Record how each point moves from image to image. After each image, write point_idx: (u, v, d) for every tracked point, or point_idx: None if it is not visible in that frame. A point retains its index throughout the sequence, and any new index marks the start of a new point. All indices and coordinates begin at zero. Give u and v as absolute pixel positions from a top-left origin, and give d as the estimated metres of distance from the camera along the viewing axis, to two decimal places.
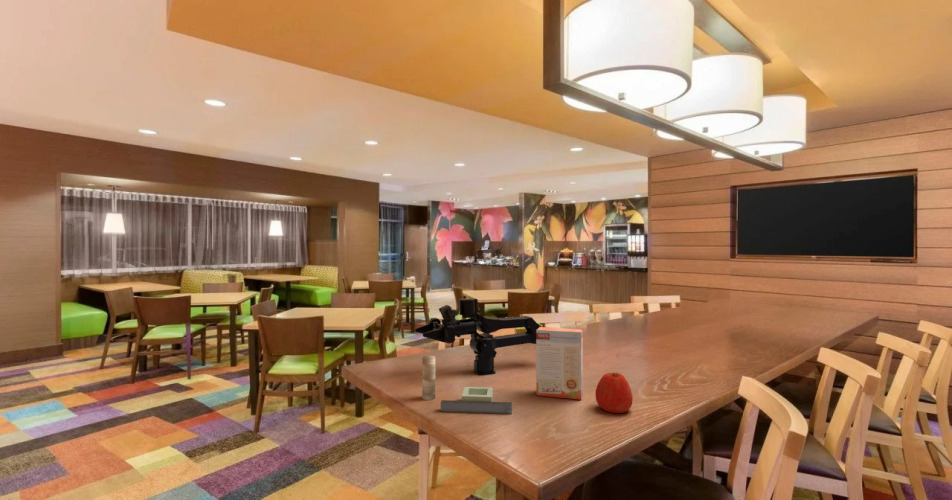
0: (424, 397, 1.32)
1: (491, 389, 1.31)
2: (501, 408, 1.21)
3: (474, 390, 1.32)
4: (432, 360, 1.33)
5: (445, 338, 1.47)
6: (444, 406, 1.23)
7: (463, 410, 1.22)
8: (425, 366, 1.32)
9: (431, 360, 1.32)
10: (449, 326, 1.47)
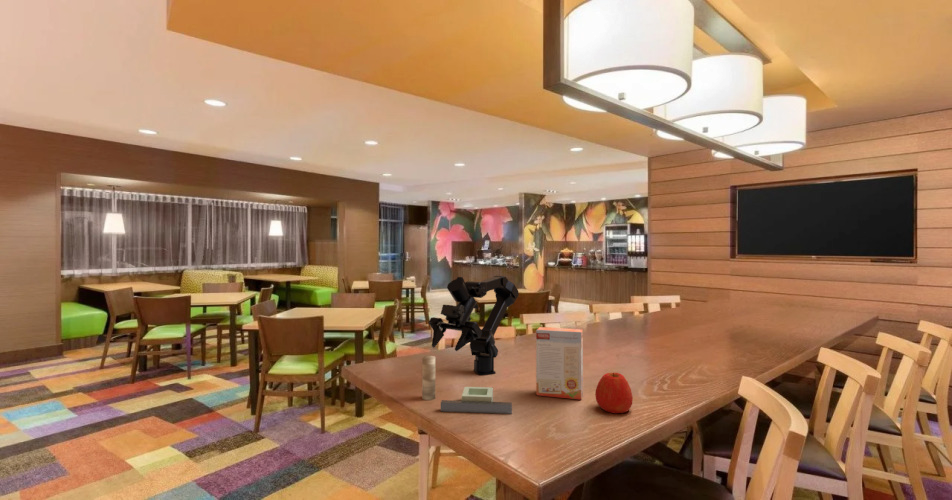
0: (424, 397, 1.32)
1: (491, 389, 1.31)
2: (501, 408, 1.21)
3: (474, 390, 1.32)
4: (432, 360, 1.33)
5: (474, 336, 1.42)
6: (444, 406, 1.23)
7: (463, 410, 1.22)
8: (425, 366, 1.32)
9: (431, 360, 1.32)
10: (474, 326, 1.39)
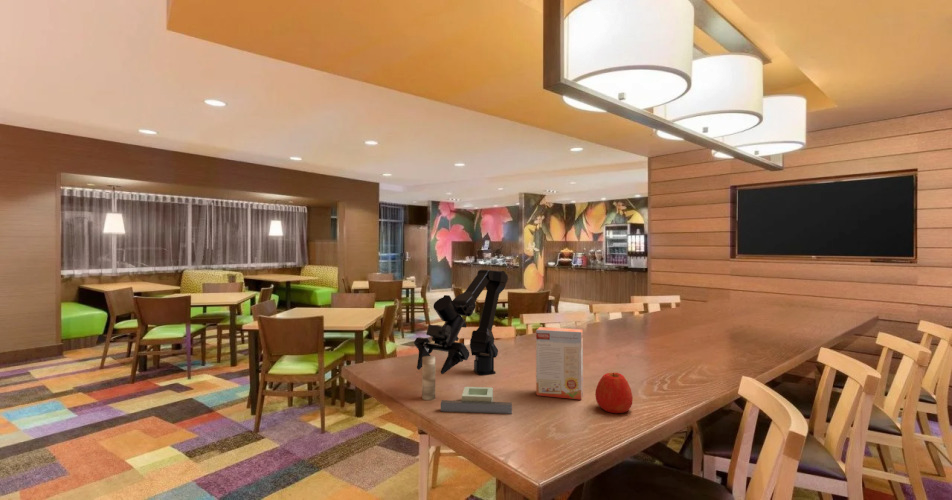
0: (424, 397, 1.32)
1: (491, 389, 1.31)
2: (501, 408, 1.21)
3: (474, 390, 1.32)
4: (432, 360, 1.33)
5: (461, 358, 1.35)
6: (444, 406, 1.23)
7: (463, 410, 1.22)
8: (426, 366, 1.32)
9: (431, 360, 1.32)
10: (461, 347, 1.33)
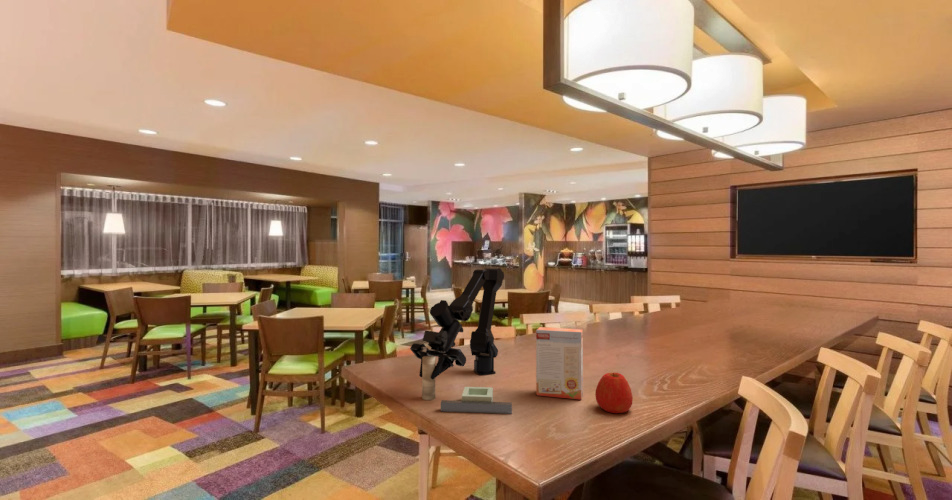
0: (424, 397, 1.32)
1: (491, 389, 1.31)
2: (501, 408, 1.21)
3: (474, 390, 1.32)
4: (432, 360, 1.33)
5: (451, 363, 1.35)
6: (444, 406, 1.23)
7: (463, 410, 1.22)
8: (425, 366, 1.32)
9: (431, 360, 1.32)
10: (457, 354, 1.31)
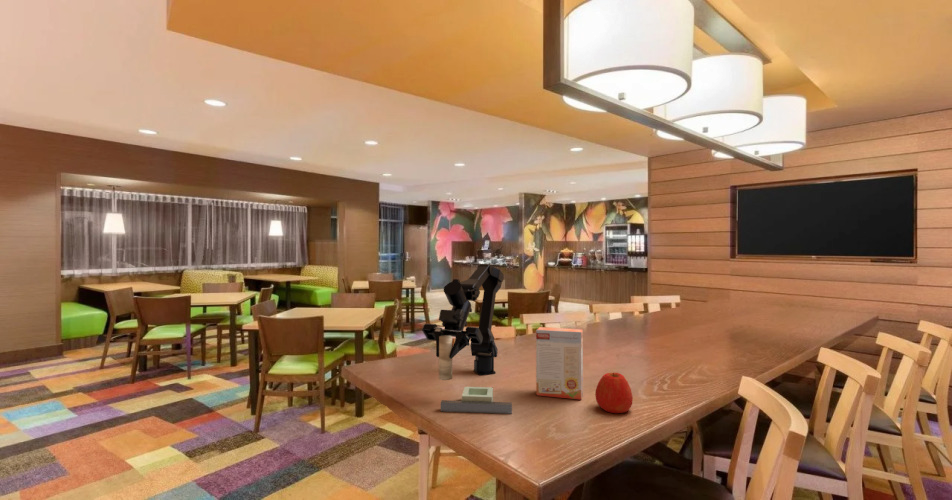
0: (442, 377, 1.29)
1: (491, 389, 1.31)
2: (501, 408, 1.21)
3: (474, 390, 1.32)
4: (450, 339, 1.30)
5: (468, 342, 1.33)
6: (444, 406, 1.23)
7: (463, 410, 1.22)
8: (444, 345, 1.29)
9: (449, 339, 1.30)
10: (476, 331, 1.30)
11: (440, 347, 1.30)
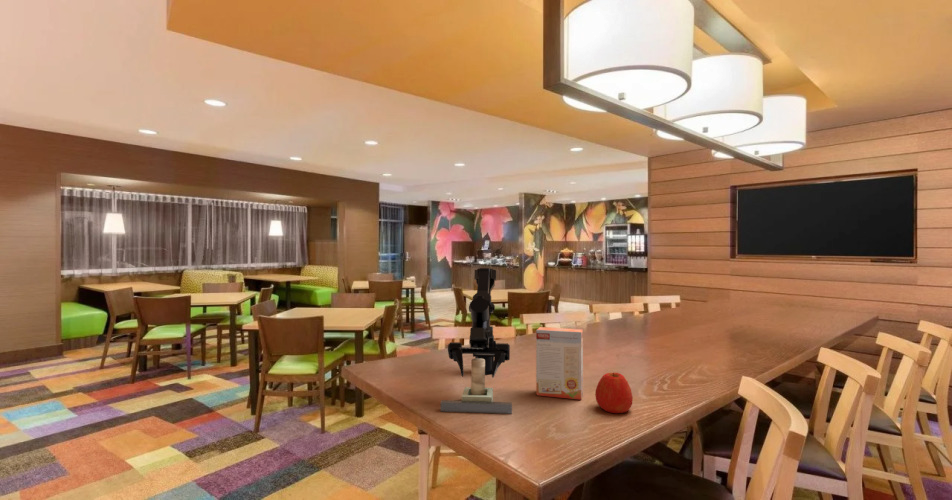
0: None
1: (491, 389, 1.31)
2: (501, 408, 1.21)
3: None
4: (484, 362, 1.28)
5: (504, 358, 1.33)
6: (444, 406, 1.23)
7: (463, 410, 1.22)
8: (479, 369, 1.27)
9: (483, 362, 1.28)
10: (508, 348, 1.30)
11: (474, 371, 1.27)
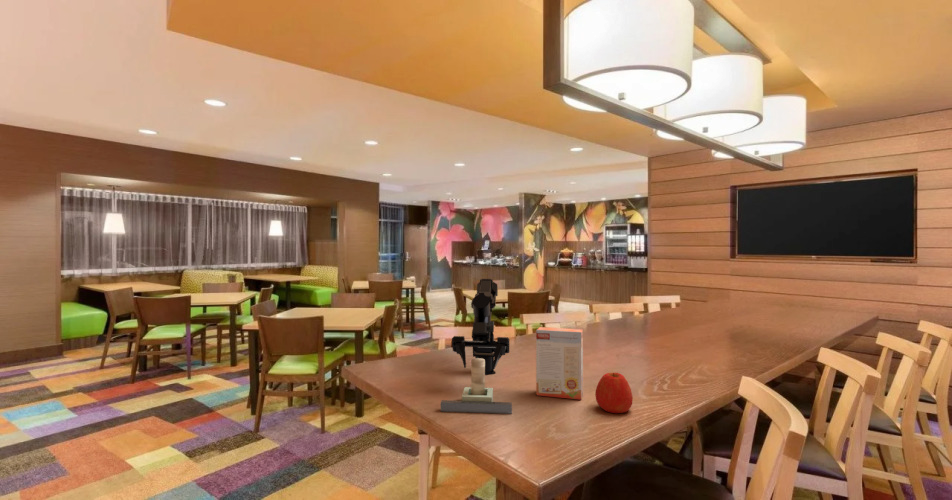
0: None
1: (491, 389, 1.31)
2: (501, 408, 1.21)
3: None
4: (484, 362, 1.28)
5: (505, 351, 1.42)
6: (444, 406, 1.23)
7: (463, 410, 1.22)
8: (479, 369, 1.27)
9: (483, 362, 1.28)
10: (508, 341, 1.40)
11: (474, 371, 1.27)
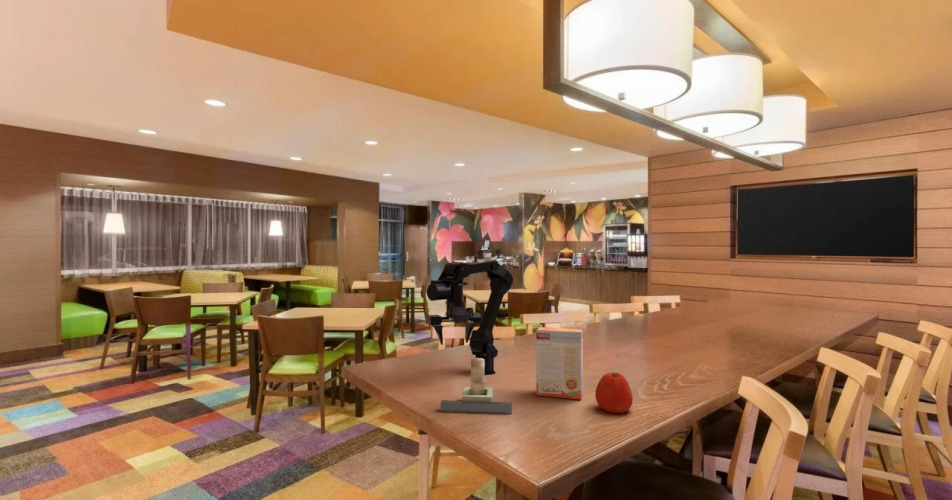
0: None
1: (491, 389, 1.31)
2: (501, 408, 1.21)
3: None
4: (483, 362, 1.28)
5: None
6: (444, 406, 1.23)
7: (463, 410, 1.22)
8: (478, 369, 1.27)
9: (483, 362, 1.28)
10: (481, 320, 1.52)
11: (474, 371, 1.27)
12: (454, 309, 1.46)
